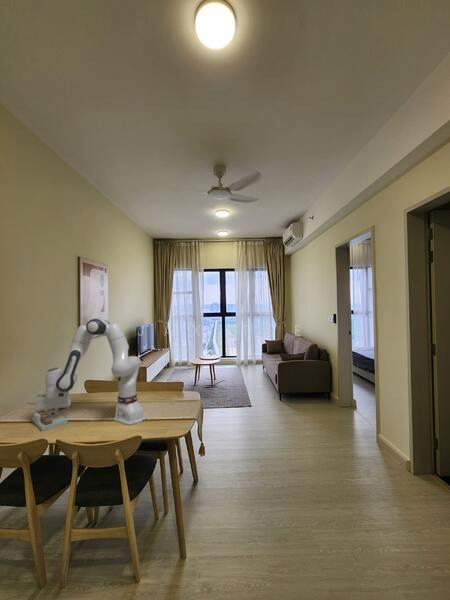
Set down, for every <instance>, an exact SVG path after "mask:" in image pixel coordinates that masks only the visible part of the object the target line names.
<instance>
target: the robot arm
mask: <svg viewBox="0 0 450 600" xmlns="http://www.w3.org/2000/svg"><path fill="white" fill-rule="evenodd" d="M95 336H105V337H106V339H107V341H108V344H109V347H110V349H111V352H112V365H111V369H110V370H111V374H112V375H113V376H114V377H116V378H120V380H119V382H118V385H117V387H118V395H117V405H116V406H115V416H114V418H113V421H114V422H115V421H116V422H118V423H121V424H124V425H128V426H129V425H136V424H139V423H142V422H144V421H146V420H147V419H148V417H147V415H145V414H144V406H141V404H140V403H139V401H138V399H139V397H138V395H137V378H138V375H139V370H140V368H141V366H142V360H141V358H140V357H139V356H134V355H131V356H129V349H130V346H129V343H128V341H127V337H126V334H125V332H124V331H123V328H122V327H121V325H120V324H118V323H115V322H114V323H110V322H109V321H108V320H106V319H103V318H93V319H90V320H89V321H88V322H87V323H86V325H85V324H83V325H80V326H78V327H77V329H76V331H75V333H74V335H73V338H72V340H71V343H70V348H69V352H68V353H69V354H68V358H67V362H66V365H65V367H64V369H61V368H60V367H54V368H51V369H48V370H47V371H46V372H45V375H44V376H45V377H44V384H45V389H44V390H45V391H44V393H42V394H38V395H36V396H35V409H36V410H39V411H40V410H48V412H50V413H51V415H56V414H57V412H58V410H59V409H58V408H62V407H66V408H69V407H70V406H71V404H72V399H71V395H70V391H71V390H72V389H73V388H74V386H75V384H76V382H77V380H78V375H77V374H76V370H77V367H78V365H79V363H80V361H81V359H82V357H84V356H85V354H86V353H87V351H88V349H89V347H90V345H91V341H92V338H93V337H95ZM52 409H54V410H52ZM53 411H54V412H53ZM146 418H147V419H146ZM145 419H146V420H145ZM143 420H144V421H143Z"/></svg>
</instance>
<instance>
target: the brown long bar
mask: <svg viewBox="0 0 450 600" xmlns="http://www.w3.org/2000/svg"><path fill="white" fill-rule="evenodd" d="M36 413H39V414H40V415H41V421H42V422H43V423H44V424H46V425H47V424H50V423H52V417H51V416H50V415H49V414H48V413H47V411H45V409H41V410H39V411H37V412H36Z"/></svg>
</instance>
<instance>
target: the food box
mask: <svg viewBox="0 0 450 600" xmlns="http://www.w3.org/2000/svg"><path fill="white" fill-rule="evenodd" d="M52 411H53V412H54V411H55V410H52ZM46 413H48V414H49V415H50V416H51V417H52V423H50V424H47V425H46V424H44V423H43V422H42V421H41V415H40V414H39V413H37V412H35V413H34V414H33V415H32V416H31V421H32V422H33V423H34V424H35V425H36V426H37V428H38V429H39V430H40V431H41V432H44V431H49V430H51V429H54V428H58V427H62V426H65V425H68V424H69V423H68V421H69V420H68V418H66V417H64V416H63V415H62V414H61V413H60V412H58V411H57V414H56V415H51V413H50V411H46Z"/></svg>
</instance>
